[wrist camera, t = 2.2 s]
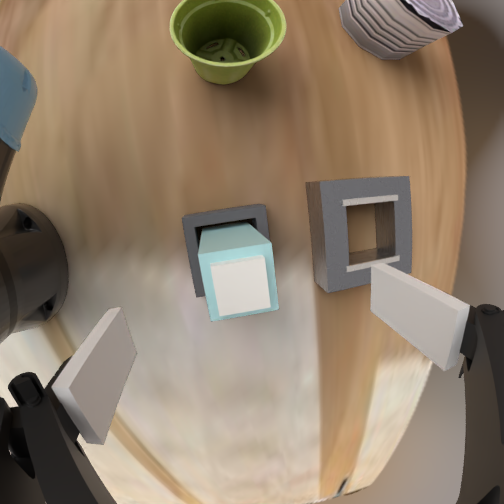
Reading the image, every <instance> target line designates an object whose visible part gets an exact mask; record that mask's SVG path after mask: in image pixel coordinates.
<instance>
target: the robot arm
mask: <svg viewBox="0 0 504 504" xmlns="http://www.w3.org/2000/svg"><path fill="white" fill-rule="evenodd" d="M36 99H37V85H36V81H35V79H34V77H33V76H32V74H31V73H30V72H29V70H28V69H27V68H26V67H25V66H24V65H23V64H22V63H21V62H20V61H18V60H17V59H16V58H15V57H14V56H13V55H11V54H10V53H9V52H8V51H7V50H5V49H4V48H3V47H1V46H0V200H1V196H2V193H3V189H4V185H5V182H6V179H7V175H8V172H9V169H10V166H11V164H12V161H13V158H14V155H15V153H16V151H18V152H19V150H20V147H21V143H20V141H21V138H22V135H23V132H24V130H25V127H26V125H27V122H28V120H29V117H30V115H31V112H32V110H33V108H34V105H35V103H36ZM67 287H68V266H67V260H66V255H65V251H64V248H63V245H62V242H61V240H60V238H59V236H58V234H57V232H56V230H55V228H54V227H53V225H52V224H51V222H50V221H49V220H48V219H47V217H46V216H45V215H44V214H43V213H41V212H40V211H39V210H37V209H36V208H34V207H32V206H30V205H27V204H20V203H19V204H11V205H5V206H2V207H0V343H1V342H3V340H5V339H6V338H7V337H8V336H9V335H10V334H12V333H16V332H20V331H24V330H28V329H32V328H36V327H39V326H41V325H43V324H45V323H46V322H47V321H49V320H50V319H51V318H52V317H53V316H54V315H55V314H56V313H57V312H58V311H59V309H60V308H61V306H62V304H63V302H64V300H65V297H66V293H67ZM370 311H371V312H372V313H374V314H375V315H376V316H377V317H379V318H380V319H381V320H382V321H384V322H385V323H386V324H387V325H389V326H390V327H391V328H392V329H394V330H395V331H396V332H397V333H399V334H400V335H401V336H402V337H403V338H405V339H406V340H407V341H408V342H410V343H411V344H412V345H413V346H414V347H416V348H417V349H418V350H419V351H421V352H422V353H423V354H424V355H425V356H427V357H428V358H429V359H430V360H431V361H433V362H434V363H435V364H436V365H438V366H439V367H440V368H441V369H442V370H443V371H446V370H448V369H449V368H451V367H453V366H455V365H456V364H457V361H458V357H459V353H462V354H463V355H465V357H464V361H463V364H462V368H461V371H460V374H459V378H461V376H462V374H463V373H464V381H465V399H466V437H465V455H464V467H463V475H462V482H461V489H460V494H459V498H458V501H457V503H456V504H504V310H503V311H502V310H501V309H500V308H499V307H496V306H494V305H490V304H482V305H479V306H478V307H477V308H475V307H473V306H471V305H469V304H467V303H465V302H463V301H461V300H459V299H457V298H455V297H453V296H451V295H450V294H448V293H446V292H443V291H441V290H439V289H437V288H435V287H433V286H431V285H429V284H427V283H425V282H422V281H420V280H418V279H416V278H414V277H412V276H410V275H408V274H406V273H404V272H402V271H400V270H397V269H395V268H393V267H391V266H389V265H387V264H385V263H378V264H373V265H371V309H370ZM136 355H137V352H136V349H135V346H134V343H133V340H132V337H131V334H130V331H129V328H128V325H127V322H126V319H125V316H124V312H123V309H122V307H118V308H110V309H108V310H107V312H106V313H105V314H104V315H103V317H102V318H101V319H100V321H99V322H98V323H97V324H96V326H95V327H94V328H93V330H92V331H91V332H90V334H89V335H88V336H87V337H86V339H85V340H84V341H83V343H82V344H81V346H80V347H79V348H78V350H77V351H76V352H75V354H74V355H73V356H71V357H70V358H68V359H67V360H66V361H64V362H63V364H62V365H61V366H60V368H59V370H57V372H56V373H55V376H53V377H52V379H51V380H50V382H49V383H48V385H47V386H46V387H45V389H44V388H43V386H42V384H41V383H40V381H39V379H38V377H37V375H36V374H35V373H32V372H26V373H23V374H20V375H18V376H16V377H15V378H14V379H12V380H11V382H10V383H9V385H8V389H9V391H10V393H11V394H12V396H13V398H14V399H15V401H16V403H17V404H18V406H19V407H11V408H10V407H9V406H8V404H7V403H6V401H5V400H4V398H1V397H0V504H46V503H47V504H117V503H116V502H115V500H114V499H113V497H112V496H111V495H110V493H109V492H108V490H107V489H106V487H105V486H104V484H103V483H102V481H101V479H100V478H99V476H98V475H97V473H96V471H95V470H94V468H93V466H92V465H91V463H90V461H89V459H88V458H87V456H86V454H85V452H84V450H83V449H82V447H81V445H80V444H79V442H78V441H77V437H78V435H79V433H80V434H81V435H82V437H83V438H84V440H85V441H86V442H87V443H91V444H102V445H104V442H105V439H106V436H107V433H108V430H109V427H110V424H111V421H112V419H113V416H114V413H115V410H116V407H117V404H118V402H119V399H120V396H121V393H122V391H123V388H124V385H125V383H126V380H127V377H128V375H129V372H130V370H131V367H132V365H133V362H134V360H135V357H136ZM9 450H10V452H11V455H10V452H9ZM45 501H46V503H45Z"/></svg>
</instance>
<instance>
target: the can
mask: <svg viewBox="0 0 504 504" xmlns="http://www.w3.org/2000/svg"><path fill="white" fill-rule="evenodd" d="M339 13H340V18H341V24H342V27H343V28H344V29H345V31H346V32H347V33H348V34H349V35H350V36H351V38H352V39H353V40H354V41H355V43H356V44H357V45H358V46H359V47H360V48H362V49H364V50H366V51H368V52H369V53H371V54H373V55H375V56H376V57H378V58H380V59H397V60H400V59H401V58H403V57H405V56H407V55H409V54H411V53H412V52H414V51H416V50H418V49H420V48H422V47H424V46H426V45H428V44H430V43H432V42H434V41H436V40H438V39H440V38H442V37H444V36H446V35H448V34H450V33H452V32H454V31H455V30H457V29H459V28H460V27H462V26H463V24H462V21H461V19H460V17H459V14H458V12H457V10H456V8H455V6H454V4H453V2H452V0H345V2H344V3H343V4H342V5H341V6H340V7H339Z"/></svg>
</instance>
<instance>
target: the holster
mask: <svg viewBox="0 0 504 504" xmlns="http://www.w3.org/2000/svg"><path fill="white" fill-rule="evenodd" d="M249 218H252V223H253V227H254V228H255V229H256V230H257V231H258V232H259V233H261V234H262V235H263V236H264V237H265V238H267V239H268V240H269V241H270V239H269V231H268V222H267V214H266V206H265V205H263V204H254V205H247V206H240V207H233V208H226V209H220V210H213V211H207V212H201V213H195V214H189V215H184V216H183V217H182V223H183V229H184V235H185V240H186V246H187V252H188V257H189V262H190V268H191V273H192V278H193V283H194V288H195V293H196V297H202V296H206V295H205V290H204V285H203V280H202V274H201V269H200V264H199V258H198V251H199V239H198V233H197V227H198V226H204V225H210V224H217V223H223V222H229V221H236V220H243V219H249Z"/></svg>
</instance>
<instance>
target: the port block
mask: <svg viewBox="0 0 504 504" xmlns="http://www.w3.org/2000/svg"><path fill="white" fill-rule="evenodd" d="M305 183H306V191H307V200H308V210H309V220H310V231H311V242H312V255H313V269H314V281H315V282H316V283H317V284H318V285H319V286H320V287H322V288H323V289H324V290H325V291H326V292H327V293H331V292H336V291H340V290H344V289H349V288H353V287H357V286H361V285H366V284H370V283H371V265H373V264H378V263H385V264H387V265H389V266H391V267H393V268H395V269H397V270H400V271H402V272H404V273H406V274H408V273H411V266H412V214H411V194H410V181H409V176H388V177H369V178H353V179H339V180H327V181H315V182H305ZM367 203H375V217H376V241H377V248H375V249H369V250H364V251H359V252H353V253H349V247H348V229H347V215H346V206H349V205H358V204H367Z"/></svg>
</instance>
